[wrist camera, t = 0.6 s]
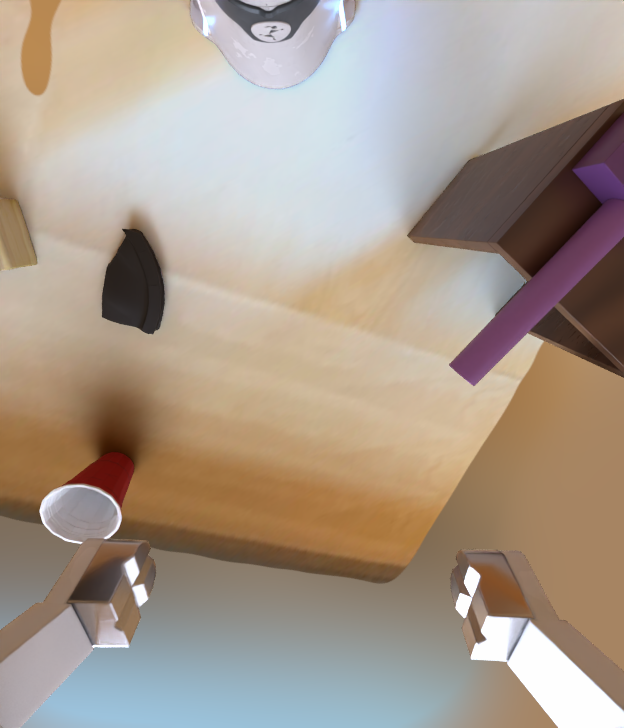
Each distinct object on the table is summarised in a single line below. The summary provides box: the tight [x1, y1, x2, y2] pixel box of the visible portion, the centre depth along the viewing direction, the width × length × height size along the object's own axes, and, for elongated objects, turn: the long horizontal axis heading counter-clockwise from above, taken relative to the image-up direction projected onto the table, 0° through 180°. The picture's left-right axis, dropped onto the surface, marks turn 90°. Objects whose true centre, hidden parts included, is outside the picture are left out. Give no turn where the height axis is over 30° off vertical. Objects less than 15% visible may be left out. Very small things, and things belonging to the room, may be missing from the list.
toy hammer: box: [449, 113, 624, 386], centre depth 27 cm, size 20×9×3 cm, turn 142°
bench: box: [407, 99, 624, 378], centre depth 40 cm, size 20×12×25 cm, turn 52°
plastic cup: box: [39, 452, 134, 544], centre depth 57 cm, size 11×11×12 cm
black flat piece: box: [102, 229, 165, 334], centre depth 52 cm, size 8×14×2 cm, turn 162°
